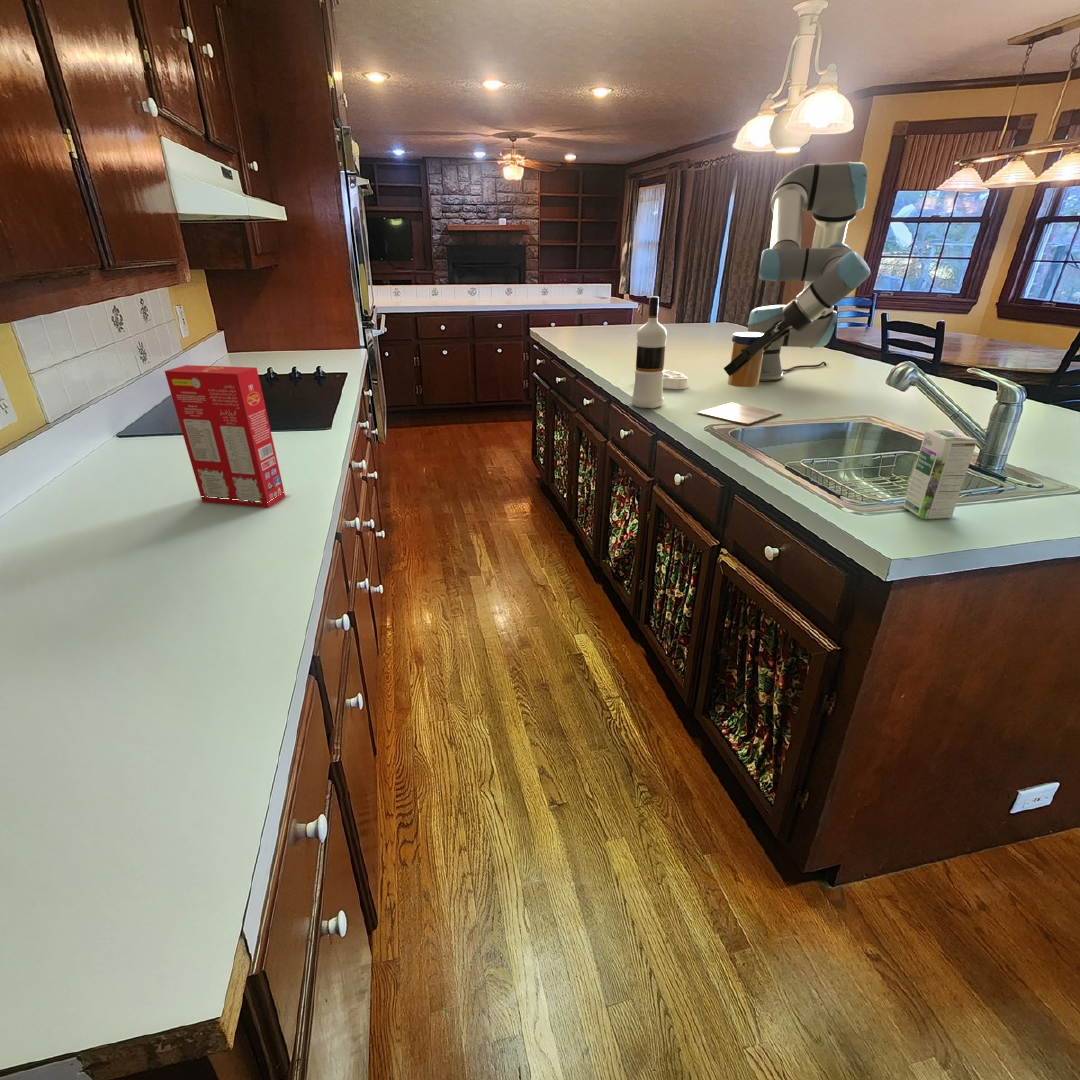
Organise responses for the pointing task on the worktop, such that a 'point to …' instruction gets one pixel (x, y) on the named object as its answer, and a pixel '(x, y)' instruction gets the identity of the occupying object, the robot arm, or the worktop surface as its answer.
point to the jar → (746, 368)
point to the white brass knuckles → (674, 380)
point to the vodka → (650, 361)
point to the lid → (746, 337)
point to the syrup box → (939, 473)
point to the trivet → (739, 413)
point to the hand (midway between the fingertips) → (732, 369)
